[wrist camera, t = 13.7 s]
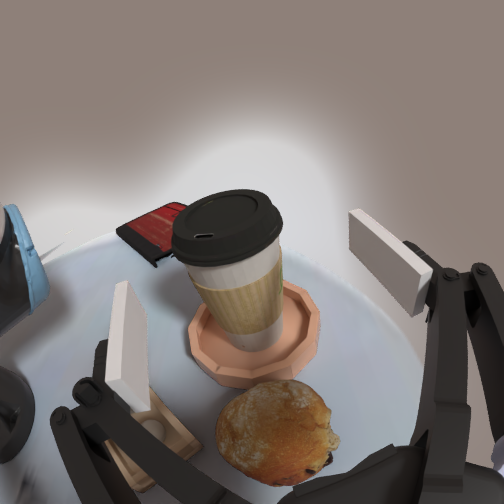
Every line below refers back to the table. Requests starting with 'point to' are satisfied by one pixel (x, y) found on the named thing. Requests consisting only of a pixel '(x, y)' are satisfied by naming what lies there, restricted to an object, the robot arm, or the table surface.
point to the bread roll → (277, 433)
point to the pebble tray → (171, 441)
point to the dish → (263, 362)
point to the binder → (152, 232)
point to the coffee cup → (235, 263)
